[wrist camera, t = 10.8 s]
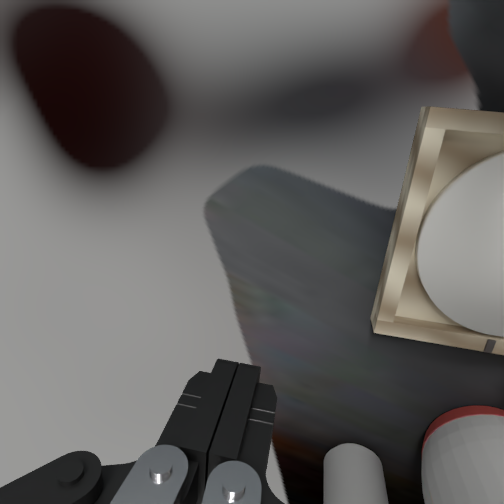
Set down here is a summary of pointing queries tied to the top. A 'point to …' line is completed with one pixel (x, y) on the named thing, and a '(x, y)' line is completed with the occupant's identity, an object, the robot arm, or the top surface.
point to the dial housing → (411, 214)
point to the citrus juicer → (464, 457)
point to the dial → (466, 247)
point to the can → (353, 476)
